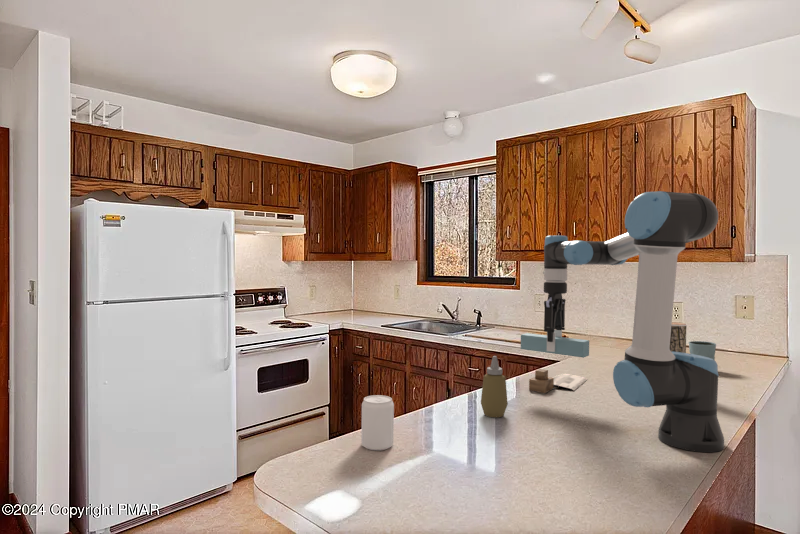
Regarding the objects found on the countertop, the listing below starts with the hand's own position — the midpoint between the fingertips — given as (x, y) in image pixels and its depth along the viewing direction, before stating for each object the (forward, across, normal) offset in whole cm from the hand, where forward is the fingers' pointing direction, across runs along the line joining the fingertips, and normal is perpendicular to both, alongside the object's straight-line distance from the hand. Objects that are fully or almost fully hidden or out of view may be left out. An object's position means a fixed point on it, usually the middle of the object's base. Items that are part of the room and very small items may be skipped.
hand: (554, 350), depth 176 cm
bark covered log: (+17, -36, +31) cm, 51 cm away
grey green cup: (+17, -86, +33) cm, 94 cm away
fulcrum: (+17, -10, -8) cm, 22 cm away
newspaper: (+18, -25, -5) cm, 31 cm away
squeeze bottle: (+17, +28, -8) cm, 34 cm away
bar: (+1, 0, 0) cm, 1 cm away
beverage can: (+17, +70, -19) cm, 75 cm away
